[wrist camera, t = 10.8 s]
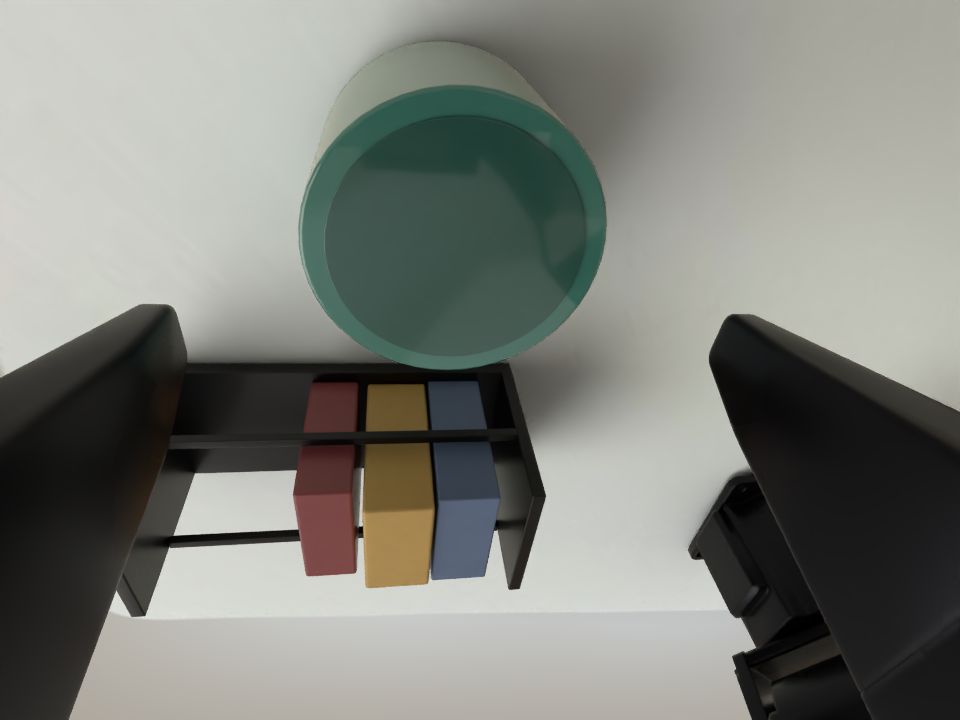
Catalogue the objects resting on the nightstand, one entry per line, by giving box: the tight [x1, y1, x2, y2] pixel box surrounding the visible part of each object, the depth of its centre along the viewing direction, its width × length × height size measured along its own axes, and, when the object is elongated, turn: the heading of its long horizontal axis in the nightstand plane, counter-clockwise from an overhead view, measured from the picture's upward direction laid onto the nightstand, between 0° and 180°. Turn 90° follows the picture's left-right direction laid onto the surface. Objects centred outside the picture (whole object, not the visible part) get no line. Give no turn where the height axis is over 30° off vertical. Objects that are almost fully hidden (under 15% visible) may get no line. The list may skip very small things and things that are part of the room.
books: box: [293, 381, 501, 588], centre depth 18 cm, size 6×4×5 cm
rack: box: [117, 364, 546, 617], centre depth 18 cm, size 12×5×6 cm, turn 84°
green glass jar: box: [298, 41, 607, 370], centre depth 13 cm, size 6×6×5 cm
